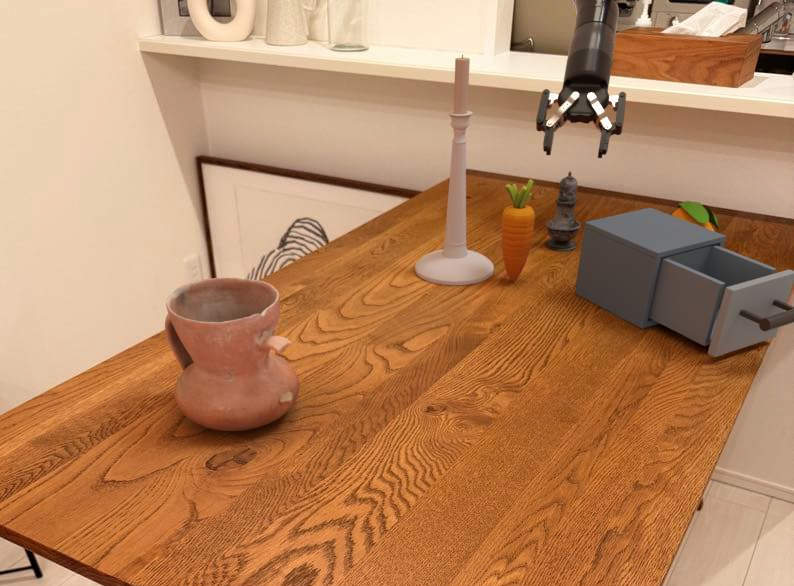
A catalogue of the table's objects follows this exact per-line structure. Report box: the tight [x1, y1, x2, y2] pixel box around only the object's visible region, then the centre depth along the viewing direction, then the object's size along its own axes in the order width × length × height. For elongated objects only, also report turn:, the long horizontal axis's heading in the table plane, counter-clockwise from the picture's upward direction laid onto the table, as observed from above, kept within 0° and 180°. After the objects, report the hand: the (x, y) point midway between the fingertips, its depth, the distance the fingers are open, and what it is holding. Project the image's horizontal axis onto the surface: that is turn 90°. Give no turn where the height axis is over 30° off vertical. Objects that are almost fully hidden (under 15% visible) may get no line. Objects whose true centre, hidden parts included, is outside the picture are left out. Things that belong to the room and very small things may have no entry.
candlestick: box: [414, 54, 495, 286], centre depth 115 cm, size 13×13×30 cm
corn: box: [671, 200, 720, 232], centre depth 125 cm, size 7×8×20 cm
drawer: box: [648, 244, 794, 358], centre depth 100 cm, size 18×11×9 cm, turn 29°
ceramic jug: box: [164, 277, 300, 432], centre depth 87 cm, size 18×14×14 cm
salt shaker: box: [545, 170, 582, 252], centre depth 129 cm, size 6×6×12 cm
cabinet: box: [574, 207, 727, 330], centre depth 111 cm, size 15×13×11 cm
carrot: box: [501, 179, 536, 283], centre depth 116 cm, size 5×5×15 cm
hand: (574, 154), depth 127 cm, fingers open, 8 cm apart
